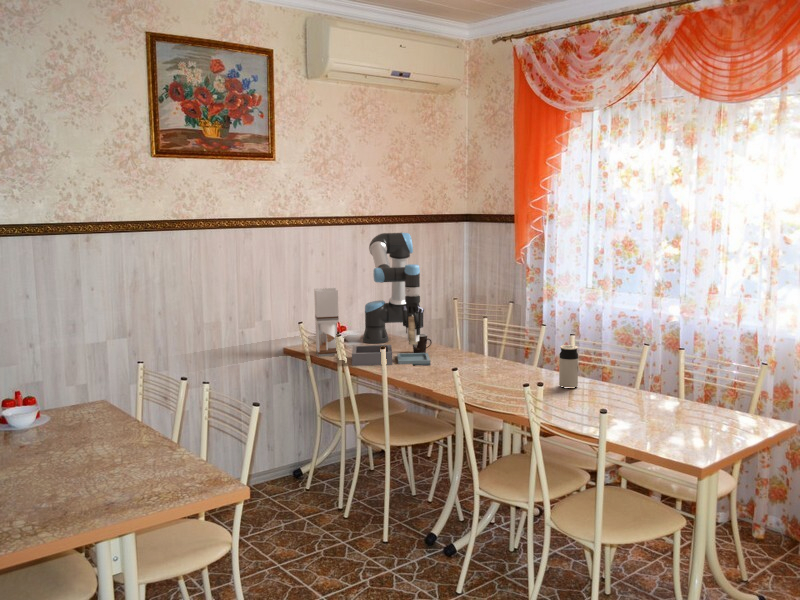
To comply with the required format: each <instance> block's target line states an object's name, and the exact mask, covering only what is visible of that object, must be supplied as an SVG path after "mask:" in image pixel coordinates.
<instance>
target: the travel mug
mask: <svg viewBox="0 0 800 600" xmlns="http://www.w3.org/2000/svg"><path fill="white" fill-rule="evenodd" d="M578 348H579V347H578V346H576V345H572V344H571V345H570V344H568V345H567V344H566V345H565V344H564V345H560V353H559V364H558V365H559V369H558V370H559V371H558V373H559V374H558V375H559V376H558V380H559V382H558V386H559V385H560V386H563V387H577V386H578V387H579V382H578V381H579V353H578ZM560 386H559V387H560ZM578 387H577V388H578Z"/></svg>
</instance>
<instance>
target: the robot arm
mask: <svg viewBox="0 0 800 600" xmlns="http://www.w3.org/2000/svg"><path fill="white" fill-rule="evenodd" d="M368 250H369V254H370V255H371V256H372V258H373V261H374V262H373V263H374V267H375V268H374V269H373V273H372V274H373V276H372V277H373V281H374V282H375V283H382V284H383V283H391V293H390V295H391V297H390V298H389V299H388V302H386V301H385V300H383V299H382V300H374V301H370V302H367V303H366V304H365V305H364V317H365V318H364V321H365V322H364V327H365V328H364V332H363V335H362V342H363V343H366V344H384V343H387V342H389V335H388V332H387V329H386V324H393V323H397V324H398V323H400V324H401V323H402V326H403V327H405V330H406V331H405V333H406V341H408V342H409V324H408V317H410V316H414V321H415V326H416V328H415V342H417V341H419V335H420V334H421V329H422V328H424V313H425V308H424V307H421V306H420V304H421V296H420V294H421V283H420V278H421V277H420V275H421V271H420V265H419V264H414V263H413V264H411V263H410V264H408V259H409V258H410V257H411V254H413V252H414V247H413V240H412V236H411V234H410V233H408V232H403V231H402V232H384V233H383V232H382V233H380V234H377V235H376V236H374V237H373V238H372V239H371V241H370V243H369V247H368ZM388 255H389V256H388ZM388 257H389V258H390V259H391V265H390V262H389V258H388Z"/></svg>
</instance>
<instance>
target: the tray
mask: <svg viewBox="0 0 800 600" xmlns="http://www.w3.org/2000/svg"><path fill="white" fill-rule="evenodd" d="M396 355H397V356H396V359H397V364H398V365H412V366H413V367H414V366H415V365H423V366H431V359H430V356H429V353H428V352H426V353H414V352H411V353H410V352H408V353H406V352H405V353H397V354H396ZM415 367H416V366H415Z"/></svg>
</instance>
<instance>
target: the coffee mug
mask: <svg viewBox="0 0 800 600" xmlns="http://www.w3.org/2000/svg"><path fill="white" fill-rule="evenodd" d="M427 341H429V342H430V343H429V345H428V346H427V343H428V342H427ZM431 345H432V340H431V339H430V338H428V334H426V333H420V335H419V341H418V344H416V345H412V350H413V351H412V353H427V349H428V348H430V347H431Z"/></svg>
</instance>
